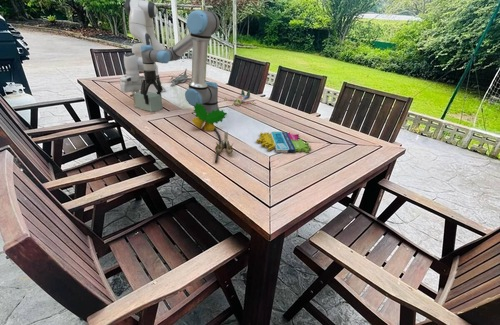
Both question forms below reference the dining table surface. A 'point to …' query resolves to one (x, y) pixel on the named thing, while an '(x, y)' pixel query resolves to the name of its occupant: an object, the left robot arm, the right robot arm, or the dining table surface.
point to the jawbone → (224, 145)
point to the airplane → (180, 78)
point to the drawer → (133, 97)
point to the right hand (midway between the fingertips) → (153, 102)
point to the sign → (283, 142)
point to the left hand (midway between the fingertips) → (135, 96)
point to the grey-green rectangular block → (153, 99)
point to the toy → (241, 99)
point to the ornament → (207, 117)
